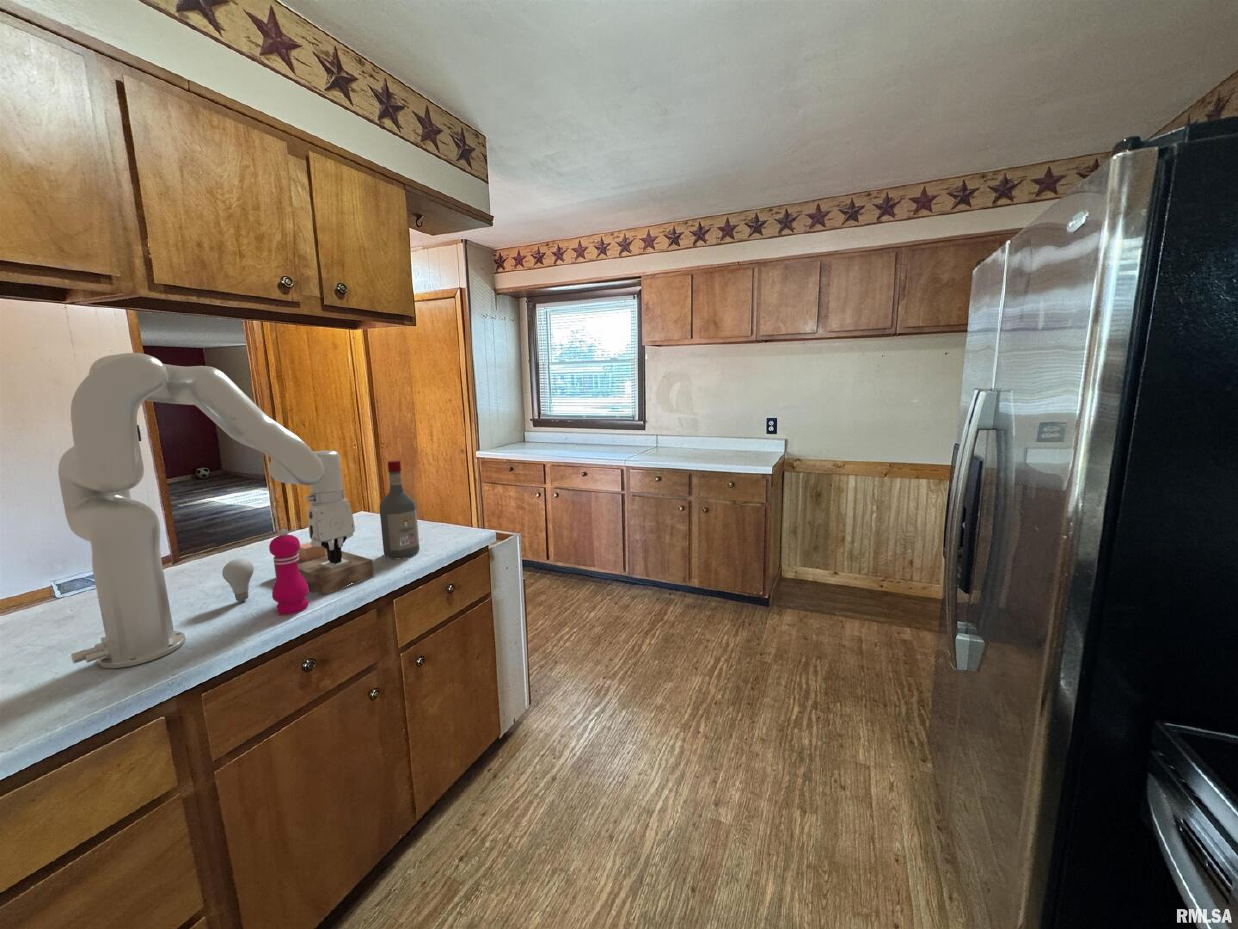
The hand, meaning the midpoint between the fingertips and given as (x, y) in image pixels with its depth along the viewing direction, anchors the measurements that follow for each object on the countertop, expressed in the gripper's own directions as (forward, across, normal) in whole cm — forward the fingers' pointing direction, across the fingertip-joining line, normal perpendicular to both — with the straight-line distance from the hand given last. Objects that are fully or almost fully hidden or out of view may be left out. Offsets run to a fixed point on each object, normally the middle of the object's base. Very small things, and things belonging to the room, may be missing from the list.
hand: (335, 561), depth 132 cm
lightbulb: (+6, -19, +8) cm, 22 cm away
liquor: (+6, +23, +4) cm, 24 cm away
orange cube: (+2, 0, +12) cm, 12 cm away
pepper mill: (+6, -15, -8) cm, 18 cm away
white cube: (+5, 0, 0) cm, 5 cm away
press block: (+6, 0, +6) cm, 8 cm away
